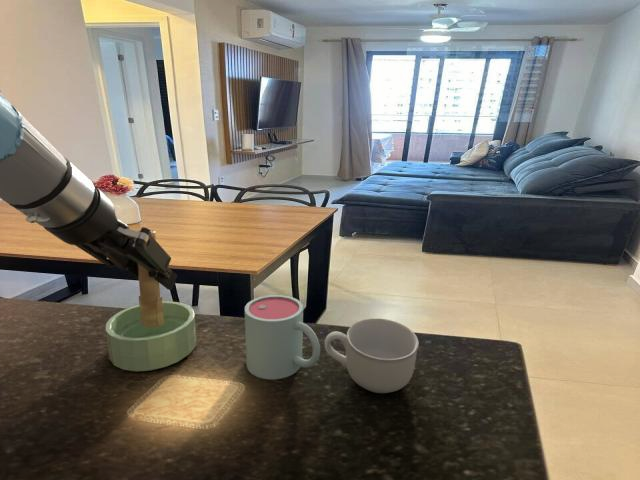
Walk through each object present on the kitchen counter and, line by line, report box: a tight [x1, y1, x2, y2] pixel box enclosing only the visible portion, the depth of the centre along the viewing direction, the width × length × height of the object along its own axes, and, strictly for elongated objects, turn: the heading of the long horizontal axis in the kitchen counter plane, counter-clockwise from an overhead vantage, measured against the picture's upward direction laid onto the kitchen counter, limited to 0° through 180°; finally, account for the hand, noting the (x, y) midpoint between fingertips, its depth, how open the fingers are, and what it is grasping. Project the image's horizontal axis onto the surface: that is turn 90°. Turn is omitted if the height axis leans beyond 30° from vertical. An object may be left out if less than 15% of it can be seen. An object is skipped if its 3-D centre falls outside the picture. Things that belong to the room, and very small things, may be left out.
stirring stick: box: [137, 229, 164, 328], centre depth 62 cm, size 4×3×16 cm
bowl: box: [105, 300, 197, 372], centre depth 65 cm, size 14×14×6 cm
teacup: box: [324, 317, 420, 394], centre depth 59 cm, size 14×11×8 cm
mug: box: [244, 294, 321, 380], centre depth 61 cm, size 14×9×10 cm
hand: (162, 281), depth 66 cm, fingers closed on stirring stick, 3 cm apart
